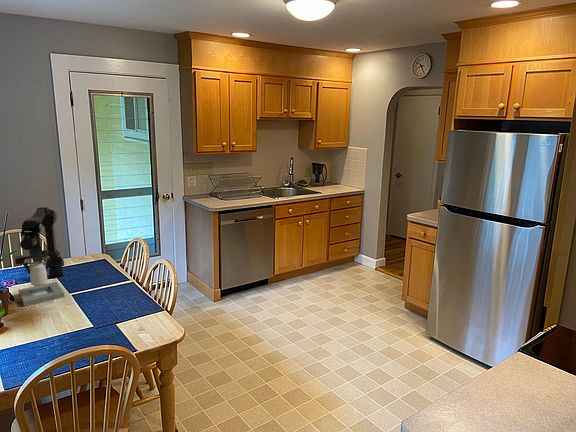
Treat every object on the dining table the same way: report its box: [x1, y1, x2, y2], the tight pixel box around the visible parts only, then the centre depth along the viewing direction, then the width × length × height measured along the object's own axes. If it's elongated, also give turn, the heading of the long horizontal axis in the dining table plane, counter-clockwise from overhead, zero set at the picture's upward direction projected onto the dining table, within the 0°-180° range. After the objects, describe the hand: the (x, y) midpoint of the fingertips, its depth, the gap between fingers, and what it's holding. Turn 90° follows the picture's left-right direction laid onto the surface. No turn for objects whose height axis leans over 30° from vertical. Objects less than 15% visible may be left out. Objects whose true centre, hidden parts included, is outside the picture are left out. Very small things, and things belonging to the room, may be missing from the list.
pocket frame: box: [18, 281, 65, 307], centre depth 218 cm, size 18×18×2 cm
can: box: [28, 260, 48, 287], centre depth 215 cm, size 8×8×12 cm
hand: (38, 272), depth 215 cm, fingers closed on can, 7 cm apart
